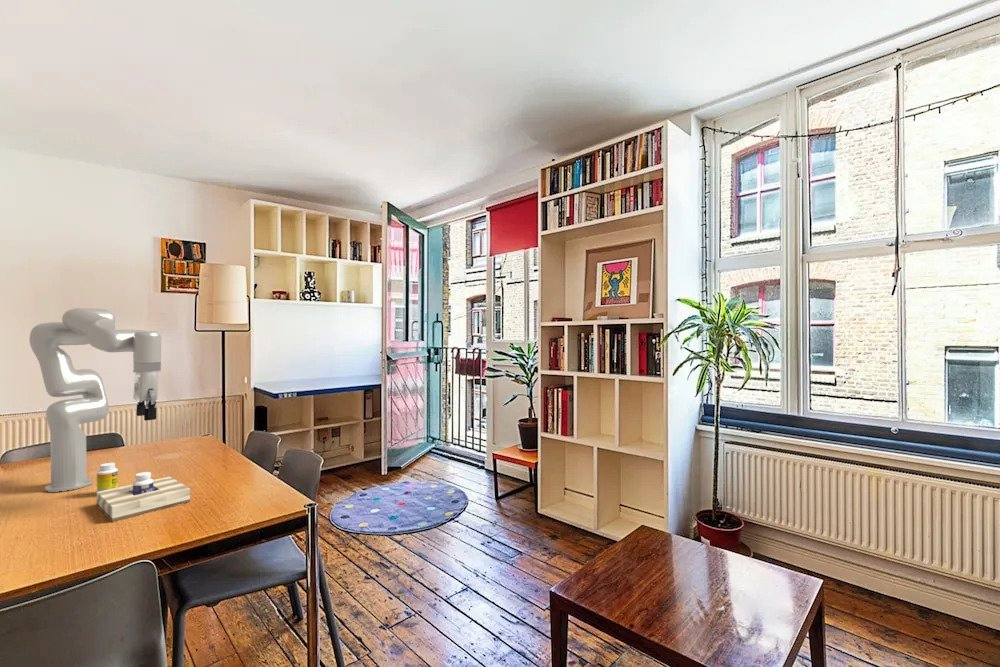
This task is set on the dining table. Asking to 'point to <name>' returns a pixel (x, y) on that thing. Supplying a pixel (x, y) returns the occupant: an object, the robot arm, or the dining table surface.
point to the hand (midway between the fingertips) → (146, 417)
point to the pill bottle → (142, 483)
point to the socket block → (142, 499)
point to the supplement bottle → (107, 477)
